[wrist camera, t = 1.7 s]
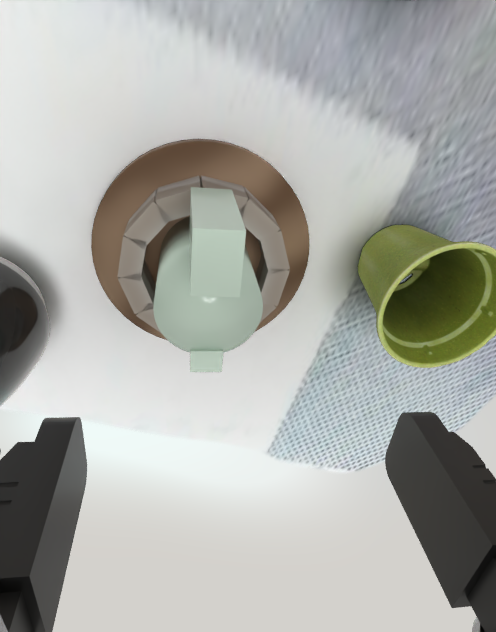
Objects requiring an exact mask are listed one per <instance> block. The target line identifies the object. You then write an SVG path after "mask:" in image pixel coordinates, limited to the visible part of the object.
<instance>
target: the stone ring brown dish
mask: <svg viewBox="0 0 496 632" xmlns="http://www.w3.org/2000/svg"><path fill="white" fill-rule="evenodd" d="M191 187H198V188H214V189H230V190H232V191H233V194H234V197H235V200H236V203H237V206H238V209H239V211H240V214H241V217H242V220H243V223H244V226H245V229H246V238H245V245H246V248H247V251H248V254H249V257H250V261H251V264H252V267H253V270H254V273H255V276H256V279H257V282H258V286H259V289H260V292H261V295H262V300H263V312H262V317H261V320H260V323H259V325H258V327H257V329H256V330H255V331H257V330H258V329H260V328H262V327H263V326H265V325H266V324H268V323H269V322H270V321H271V320H273V319H274V318H275V317H276V316H277V315H278V314H279V313H280V312H281V311H282V310H283V309H284V308H285V307H286V306H287V305H288V303H289V302H290V301H291V299H292V298H293V296H294V295H295V293H296V291H297V290H298V288H299V286H300V283H301V281H302V279H303V277H304V273H305V270H306V267H307V262H308V255H309V233H308V225H307V222H306V218H305V214H304V211H303V209H302V207H301V204H300V202H299V200H298V198H297V196H296V195H295V193H294V191H293V190H292V188H291V187H290V186H289V184H288V183H287V182H286V181H285V179H284V178H283V177H282V176H281V174H280V173H279V172H278V171H277V170H276V169H274V168H273V167H272V166H271V165H270V164H269V163H268V162H266V161H265V160H264V159H262V158H261V157H259V156H258V155H256V154H254V153H252V152H250V151H248V150H246V149H245V148H242V147H239V146H236V145H234V144H231V143H227V142H222V141H217V140H208V139H191V140H181V141H177V142H172V143H168V144H165V145H162V146H160V147H157V148H154V149H152V150H150V151H148V152H147V153H145V154H143V155H141V156H139V157H138V158H137V159H135V160H134V161H133V162H132V163H130V164H129V165H128V166H127V167H126V168H125V169H124V170H123V171H122V172H121V173H120V174H119V175H118V176H117V177H116V178H115V180H114V181H113V183H112V184H111V185H110V187H109V188H108V190H107V191H106V193H105V195H104V197H103V199H102V201H101V203H100V205H99V207H98V210H97V213H96V216H95V219H94V224H93V230H92V247H91V248H92V256H93V263H94V266H95V270H96V274H97V276H98V279H99V281H100V283H101V286H102V288H103V289H104V291H105V293H106V294H107V296H108V298H109V299H110V300H111V302H112V303H113V304H114V305H115V307H116V308H117V309H118V310H119V311H120V312H121V313H122V314H123V315H124V316H125V317H126V318H127V319H129V320H130V321H131V322H132V323H134V324H135V325H136V326H138V327H140V328H141V329H143V330H145V331H146V332H148V333H151V334H153V335H155V336H157V337H160V338H163V339H166V338H165V337H164V336H163V334H162V333H161V332H160V330H159V328H158V326H157V324H156V322H155V318H154V311H153V307H154V297H155V289H156V281H157V273H158V265H159V258H160V250H161V245H162V242H163V239H164V237H165V235H166V234H167V232H168V231H169V230H170V229H171V228H172V227H173V226H174V225H175V224H176V223H177V222H179V221H181V220H182V219H184V218H187V217H190V194H191ZM166 340H167V339H166Z"/></svg>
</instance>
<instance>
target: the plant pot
mask: <svg viewBox="0 0 496 632" xmlns="http://www.w3.org/2000/svg"><path fill="white" fill-rule="evenodd" d="M358 273H359V277H360V279H361V281H362V283H363V285H364V287H365V289H366V291H367V293H368V296H369V298H370V300H371V302H372V304H373V306H374V309H375V311H376V315H377V320H376V325H377V333H378V336H379V339H380V341H381V343H382V345H383V347H384V348H385V350H386V351H387V352H388V353H389V354H390V355H391V356H392V357H393V358H394V359H396V360H397V361H399V362H401V363H404V364H406V365H409V366H413V367H420V368H432V367H438V366H442V365H447V364H451V363H453V362H456V361H459V360H461V359H463V358H465V357H467V356H469V355H471V354H472V353H474V352H475V351H477V350H479V349H480V348H481V347H483V346H484V345H485V344H486V343H487V342H488V341H489V340H490V339H492V338H493V337H494V336H495V335H496V249H494V248H492V247H490V246H488V245H485V244H481V243H477V242H451V241H449V240H446V239H444V238H441V237H439V236H436V235H434V234H431V233H429V232H427V231H424V230H422V229H419V228H417V227H414V226H410V225H393V226H389V227H386V228H384V229H382V230H380V231H379V232H377V233H376V234H375V235H374V236H372V237H371V238H370V239H369V240H368V242H367V243H366V244H365V246H364V247H363V249H362V253H361V256H360V260H359V264H358ZM411 273H412V274H413V276H412V277H411V278H410V279H408V280H407V281H406V282H404V283H402V284H399V283H400V282H401V280H403V279H405V278H406V277H407V276H409V275H410V274H411Z"/></svg>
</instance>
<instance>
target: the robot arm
mask: <svg viewBox="0 0 496 632" xmlns="http://www.w3.org/2000/svg"><path fill="white" fill-rule="evenodd" d="M385 463H386V470H387V474H388V477H389V479H390V481H391V483H392V485H393V487H394V489H395V491H396V493H397V495H398V498H399V500H400V502H401V504H402V506H403V508H404V510H405V512H406V514H407V516H408V518H409V520H410V522H411V524H412V526H413V529H414V530H415V533H416V535H417V537H418V539H419V541H420V543H421V545H422V547H423V549H424V551H425V553H426V555H427V557H428V560H429V562H430V564H431V566H432V568H433V570H434V572H435V574H436V576H437V578H438V580H439V582H440V584H441V586H442V588H443V590H444V593H445V595H446V597H447V599H448V601H449V603H450V605H451V607H452V608H456V607H465V606H472V608H473V610H474V612H475V614H476V616H477V617H476V619H475V621H474V623H473V629H472V632H496V479H495V477H494V476H493V475H492V473H491V472H490V471H489V469H486V467H485V464H484V462H483V461H482V460H481V458H480V457H479V456H478V454H477V453H476V451H475V450H474V449H473V447H471V446H470V445H469V444H468V443H467V442H465V441H464V440H463V439H462V438H460V437H459V436H458V435H457V434H456V433H454V432H448V430H447V429H446V428H445V426H444V425H443V423H442V422H441V420H440V419H439V418H438V416H437V415H436V414H434V413H432V412H412V413H402V414H401V415H400V417H399V419H398V422H397V425H396V427H395V430H394V433H393V436H392V438H391V441H390V444H389V446H388V449H387V452H386V458H385ZM86 477H87V460H86V452H85V445H84V438H83V431H82V423H81V419H80V418H79V417H72V418H45V419H44V420H43V422H42V424H41V427H40V429H39V432H38V434H37V437H36V439H35V442H18V443H17V444H16V445H15V446H14V447H13V448H12V449H11V450H10V451H9V452H8V453H7V454H6V455H5V456H4V457H3V458H2V459H1V460H0V632H52V630H53V625H54V621H55V617H56V613H57V608H58V604H59V599H60V595H61V591H62V586H63V582H64V577H65V572H66V568H67V564H68V560H69V556H70V551H71V547H72V543H73V538H74V534H75V529H76V525H77V521H78V517H79V512H80V508H81V503H82V499H83V495H84V490H85V485H86Z"/></svg>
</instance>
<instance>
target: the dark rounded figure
mask: <svg viewBox="0 0 496 632" xmlns="http://www.w3.org/2000/svg"><path fill="white" fill-rule="evenodd" d="M49 336H50V320H49V315H48V312H47V309H46V304H45V301H44V298H43V296H42V294H41V292H40V290H39V288H38V287H37V285H36V284H35V282H34V281H33V280H32V279H31V277H30V276H29V275H28V274H27V273H26V272H24V271H23V270H22V269H21V268H20V267H18V266H17V265H15V264H14V263H12V262H10V261H8V260H6V259H4V258H2V257H0V406H2V405H3V404H4V403H5V402H6V401H7V400H8V399H9V398H10V397H11V396H12V395H13V394H14V393H15V391H16V390H17V389H18V388H19V387H20V386H21V384H22V383H23V382H24V381H25V379H26V378H27V377H28V376H29V374H30V373H31V372H32V370H33V369H34V368H35V366H36V365H37V363H38V362H39V360H40V358H41V357H42V355H43V353H44V351H45V349H46V346H47V344H48V340H49ZM0 452H1V450H0Z"/></svg>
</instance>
